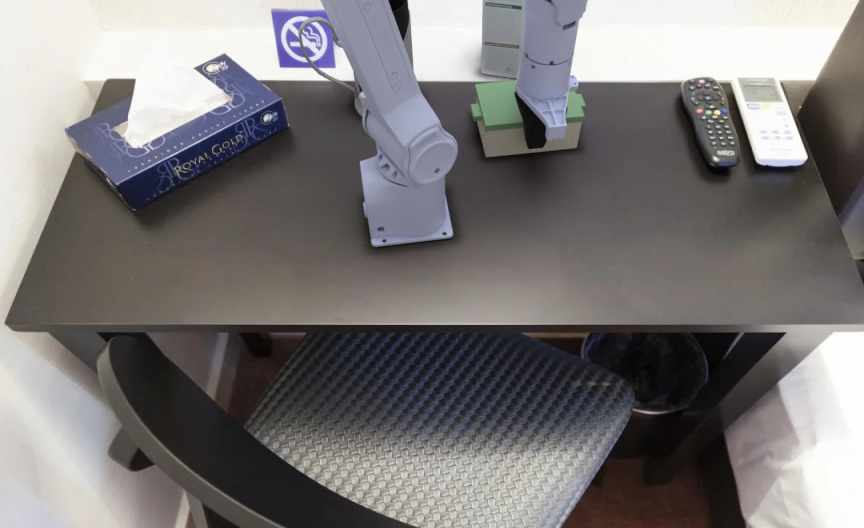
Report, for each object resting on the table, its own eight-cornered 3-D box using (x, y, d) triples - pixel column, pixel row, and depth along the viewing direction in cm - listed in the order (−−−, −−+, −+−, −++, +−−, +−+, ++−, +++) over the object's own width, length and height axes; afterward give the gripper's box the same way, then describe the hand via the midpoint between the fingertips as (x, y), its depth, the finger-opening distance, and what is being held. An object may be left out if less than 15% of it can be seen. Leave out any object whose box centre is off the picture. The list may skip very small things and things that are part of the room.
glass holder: (426, 116, 89) (421, 11, 77) (321, 137, 87) (299, 33, 74) (409, 76, 94) (402, -29, 81) (309, 95, 91) (286, -10, 79)
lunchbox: (585, 147, 86) (570, 106, 91) (592, 115, 82) (576, 74, 86) (476, 158, 85) (466, 117, 89) (477, 126, 81) (467, 84, 85)
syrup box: (520, 80, 94) (530, -21, 81) (479, 74, 94) (482, -26, 82) (526, 55, 97) (536, -45, 85) (486, 50, 97) (491, -50, 85)
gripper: (601, 88, 68) (580, 183, 79) (567, 7, 76) (552, 104, 87) (534, 94, 67) (522, 190, 79) (506, 12, 75) (500, 109, 86)
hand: (534, 145), depth 83 cm, fingers closed
